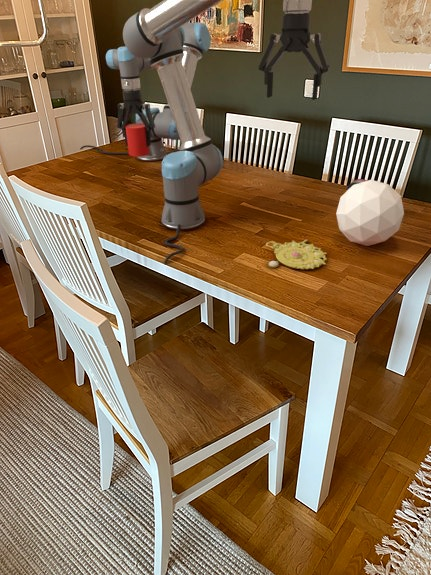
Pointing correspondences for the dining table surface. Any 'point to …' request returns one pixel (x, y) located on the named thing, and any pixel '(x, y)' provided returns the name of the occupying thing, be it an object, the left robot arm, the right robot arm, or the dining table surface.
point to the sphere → (369, 212)
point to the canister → (137, 140)
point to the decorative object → (297, 255)
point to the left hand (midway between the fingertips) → (138, 145)
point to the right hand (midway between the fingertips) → (291, 98)
